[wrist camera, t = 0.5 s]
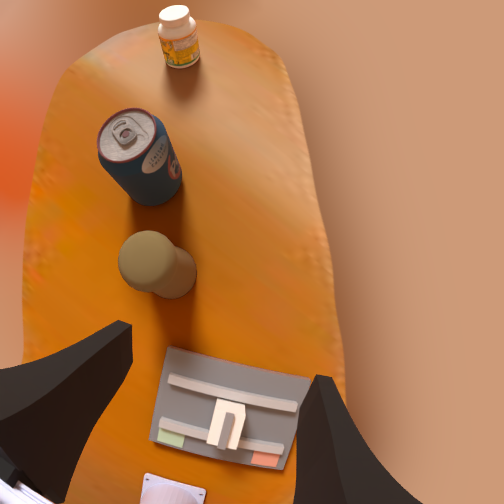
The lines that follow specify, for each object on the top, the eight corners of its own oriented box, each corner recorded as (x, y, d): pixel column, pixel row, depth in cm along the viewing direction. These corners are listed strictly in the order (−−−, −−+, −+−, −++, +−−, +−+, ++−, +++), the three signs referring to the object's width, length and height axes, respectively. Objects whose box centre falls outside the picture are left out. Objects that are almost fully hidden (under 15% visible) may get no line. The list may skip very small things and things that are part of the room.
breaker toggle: (236, 434, 30) (236, 452, 25) (209, 428, 30) (205, 445, 25) (244, 403, 31) (245, 418, 26) (217, 397, 31) (214, 411, 26)
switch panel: (281, 464, 31) (284, 473, 29) (151, 435, 31) (146, 443, 29) (308, 377, 33) (313, 382, 31) (170, 345, 33) (165, 348, 31)
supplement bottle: (204, 63, 40) (198, 16, 30) (169, 73, 39) (157, 28, 30) (195, 43, 40) (189, -2, 31) (162, 53, 40) (151, 9, 30)
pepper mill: (207, 278, 34) (193, 267, 24) (164, 309, 34) (132, 311, 23) (177, 235, 35) (152, 206, 24) (136, 266, 34) (95, 250, 23)
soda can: (194, 185, 36) (177, 134, 24) (148, 220, 35) (111, 183, 23) (164, 147, 37) (139, 90, 25) (120, 180, 36) (80, 134, 24)
